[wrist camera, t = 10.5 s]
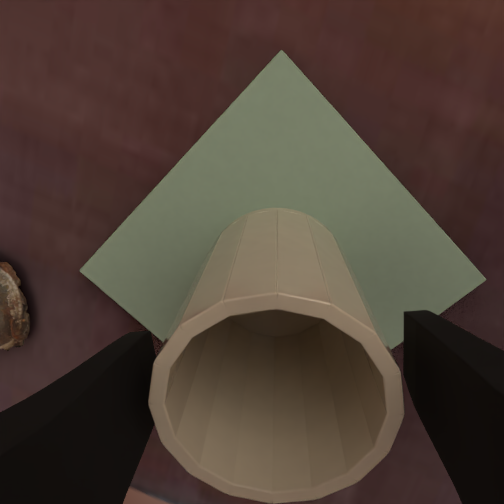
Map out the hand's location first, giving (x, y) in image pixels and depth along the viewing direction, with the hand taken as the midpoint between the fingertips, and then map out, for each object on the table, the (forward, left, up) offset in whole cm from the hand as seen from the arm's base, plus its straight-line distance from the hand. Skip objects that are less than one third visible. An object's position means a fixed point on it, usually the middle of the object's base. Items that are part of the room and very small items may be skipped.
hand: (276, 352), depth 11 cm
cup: (0, 0, -6) cm, 6 cm away
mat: (0, 0, -6) cm, 6 cm away
